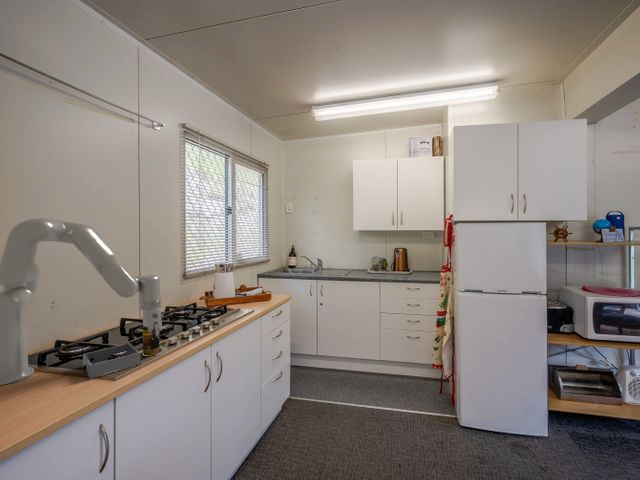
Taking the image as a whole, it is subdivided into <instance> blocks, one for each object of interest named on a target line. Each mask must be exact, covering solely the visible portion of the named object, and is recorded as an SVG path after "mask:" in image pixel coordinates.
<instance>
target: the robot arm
mask: <svg viewBox="0 0 640 480" xmlns="http://www.w3.org/2000/svg"><path fill="white" fill-rule="evenodd" d="M40 242H59V243H63V244H64V243H65V244H71V245H73V246H74V247H75V248H76V249H77V250H78V251H79V252H80V253H81V254H82V255H83V256H84V257H85V259H86V260H87V261H89V263H91V265H92V266H93V268H95V270H96V271H97V272H98V274H99V275H100V277H101V278H102V279H103V280H104V281H105V282H106V284H107V285H108V286H109V287H110V288H111V289H112V290H113V292H115V293H116V294H117V295H118V296H120V297H121V298H127V299H128V298H132V297H134V296H135V295H136V294H137V293H139V294H140V296H139V297H140V299H139V300H140V310H141V311H142V325H143V328H144V326H145V327H147V329H148V332H149V333H150V334H151V349H155V348H160V332H162V330H163V324H162V323H163V321H162V313H161V309H160V308H161V307H162V303H161V302H162V301H161V280H160V276H159V275H144V276H140V275H139V276H135V275H130V274H129V273H128V272H127V271H126V270H125V269H124V268H123V266H122V265H121V263H120V262H119V259H118V256H117V254H116V252H115V251H114V250H113V249H112V248H111V247H110V246H109V245H108V243H106V241H104V239H103V238H102V237H101V236H100V233H99V230H98V229H96V227H94V226H92V225H89V224H87V225H86V224H82V223H77V222H76V223H75V222H74V223H73V222H70V221H65V220H64V221H63V220H58V219H53V218H44V217H41V218H40V217H39V218H38V217H37V218H31V219H28V220H27V219H26V220H24V221H21V222H19V223H17V224H16V225H15V226H14V227H12V229H11V230H10V231H9V233H8V235H7V238H6V242H5V246H4V249H3V252H2V256H1V259H0V285H1V286H2V287H3V290H1V291H0V386H4V385H9V384H12V383H16V382H19V381H22V380H25V379H26V378H28V377H30V376H32V375H33V374H34V373H35V368H34V367H31V366H29V357H28V339H27V338H28V335H27V325H26V324H27V323H26V318H25V316H24V315H25V314H24V311H25V310H26V309H28V308H29V307H30V306H31V305H32V304H33V302H34V299H35V297H36V293H37V288H38V285H39V280H40V276H41V268H40V267H39V265H38V264H37V263H36V262H35V258H36V255H37V252H38V251H37V249H38V244H39V243H40ZM153 330H155V332H152V331H153ZM153 333H155V334H154V335H153Z"/></svg>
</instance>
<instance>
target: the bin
mask: <svg viewBox="0 0 640 480" xmlns="http://www.w3.org/2000/svg"><path fill="white" fill-rule="evenodd" d="M124 351H129V355H126V356H122V357H118V358H115V359H111V360H107V359H108V358H109V356H111V355H113V354H116V353H120V352H124ZM88 358H94V360H93V363H91V362H90V360H89V359H88ZM141 359H142V357H141V352H140V350H138V349H137V348H136V347H135V346H134V345H133V344H131V342H129V343H124V344H121V345H116V346H111V347H108V348H104V349H99V350H95V351H90V352H87V353H83V354H82V367H83V368H84V366H85V365H86V371H87V372H88V374H87V377H88V378H89V380H94V379H97V378H100V377H99V376H100V375H102V374H104V373H107V372H111V371H114V370H118V369H122V368H127V367H131V366H134V365H139V364H141V365H142V363H141ZM139 366H140V365H139ZM86 371H85V372H86Z"/></svg>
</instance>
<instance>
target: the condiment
mask: <svg viewBox="0 0 640 480" xmlns="http://www.w3.org/2000/svg"><path fill="white" fill-rule="evenodd" d="M142 332H143V333H142V354H143V353H144V355H155V356H159V355H162V350H163V347H159V348H155V349H151V334H150V333H149V332H148V329H147V327H145V326H144V327H143V331H142ZM152 332H155V330H153V331H152ZM154 334H155V333H153V335H154Z"/></svg>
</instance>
